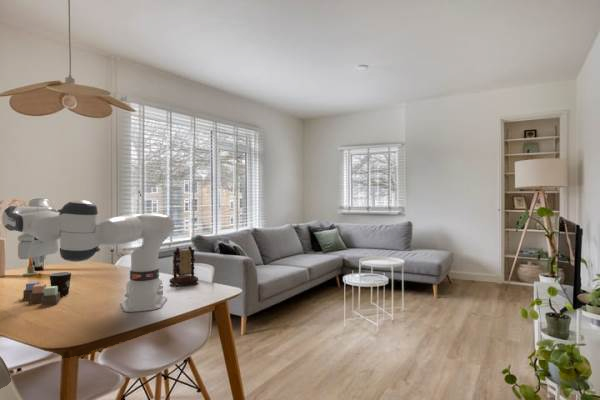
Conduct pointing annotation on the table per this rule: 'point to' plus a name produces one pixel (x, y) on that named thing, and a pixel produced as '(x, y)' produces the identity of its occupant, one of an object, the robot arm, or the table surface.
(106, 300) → the table surface
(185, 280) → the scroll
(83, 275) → the table surface
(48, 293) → the sage cap
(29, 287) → the slate cap
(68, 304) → the table surface
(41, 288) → the terracotta cap
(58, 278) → the coffee mug
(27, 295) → the slate housing
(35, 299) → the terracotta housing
